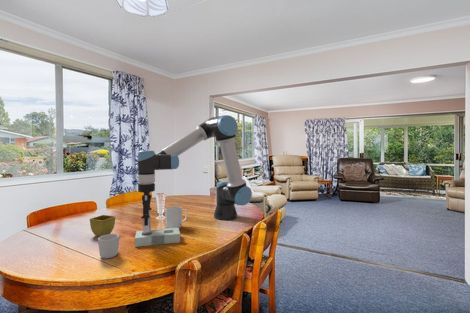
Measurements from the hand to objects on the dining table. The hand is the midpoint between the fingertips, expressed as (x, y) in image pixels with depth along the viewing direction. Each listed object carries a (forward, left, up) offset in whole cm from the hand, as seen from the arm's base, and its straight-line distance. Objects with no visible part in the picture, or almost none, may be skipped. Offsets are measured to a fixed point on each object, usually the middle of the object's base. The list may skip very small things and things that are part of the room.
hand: (146, 227), depth 120 cm
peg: (0, 0, -7) cm, 7 cm away
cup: (+14, +11, -7) cm, 19 cm away
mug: (-15, -19, -7) cm, 25 cm away
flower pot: (+22, -17, -7) cm, 29 cm away
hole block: (-5, 0, -7) cm, 8 cm away
